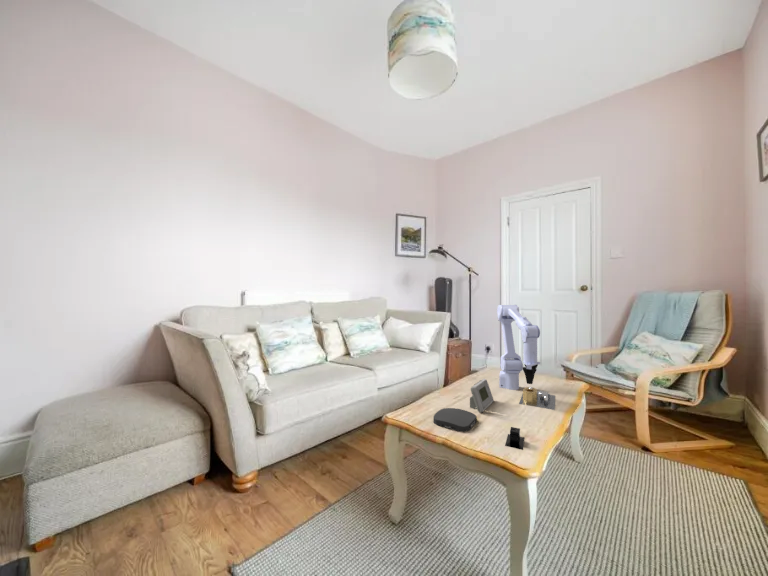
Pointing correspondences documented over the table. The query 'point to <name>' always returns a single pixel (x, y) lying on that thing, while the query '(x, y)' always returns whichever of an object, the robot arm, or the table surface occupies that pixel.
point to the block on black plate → (515, 439)
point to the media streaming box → (455, 419)
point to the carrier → (541, 400)
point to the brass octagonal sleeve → (530, 396)
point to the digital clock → (481, 396)
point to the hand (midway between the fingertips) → (530, 381)
